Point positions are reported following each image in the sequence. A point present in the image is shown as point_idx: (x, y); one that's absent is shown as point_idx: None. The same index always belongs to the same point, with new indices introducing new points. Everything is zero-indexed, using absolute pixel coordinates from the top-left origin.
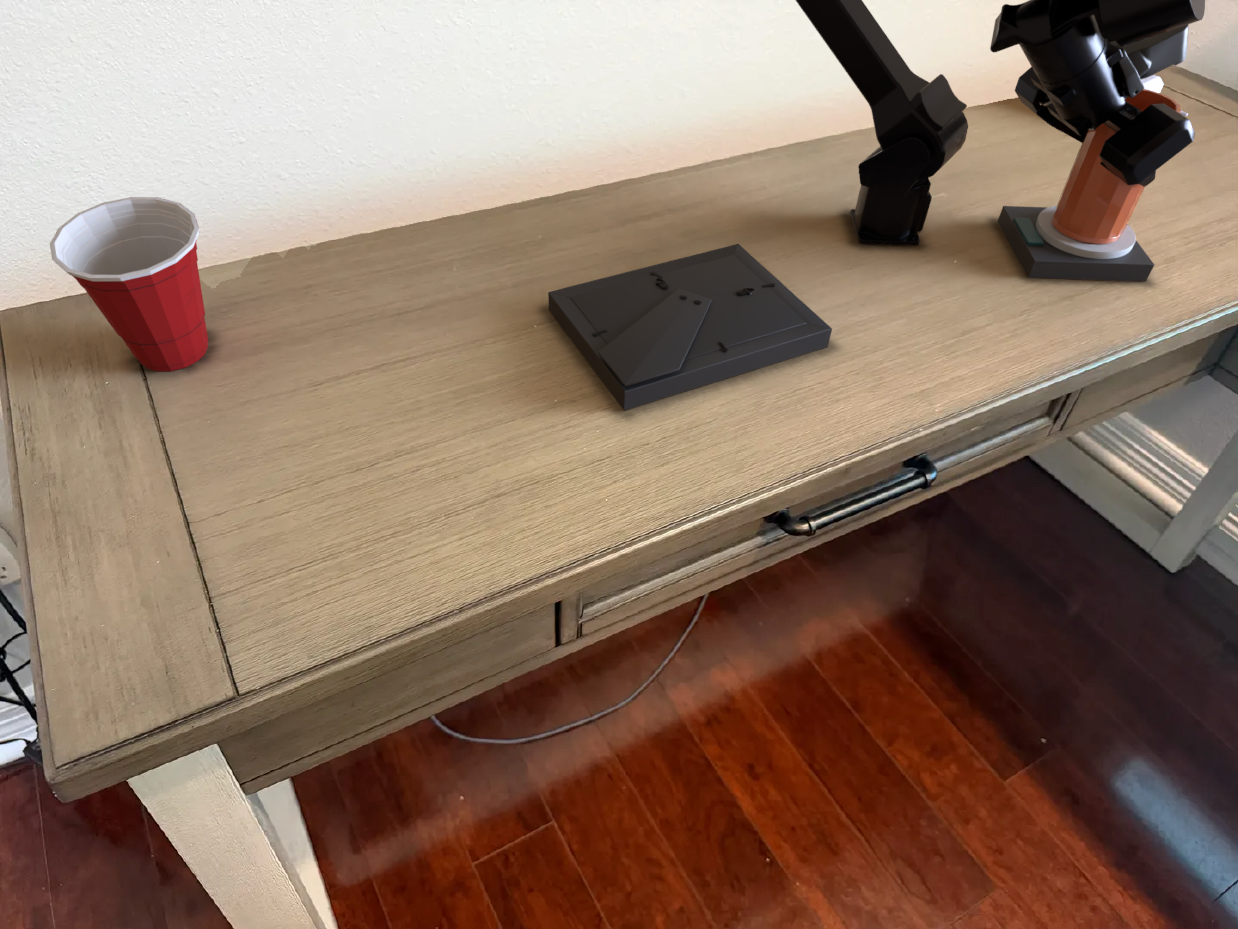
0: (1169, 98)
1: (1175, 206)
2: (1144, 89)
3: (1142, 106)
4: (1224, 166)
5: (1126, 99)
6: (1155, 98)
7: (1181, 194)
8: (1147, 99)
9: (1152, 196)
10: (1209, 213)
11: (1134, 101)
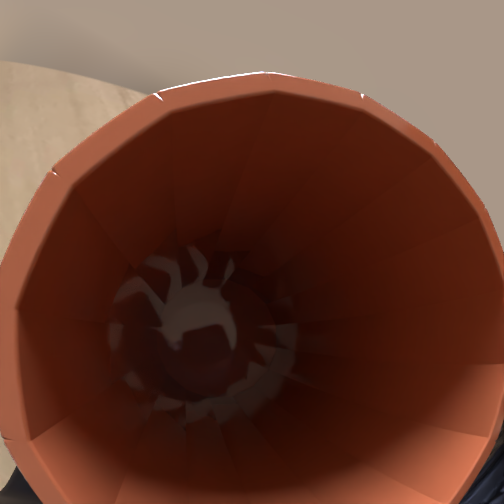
0: (249, 87)
1: (80, 130)
2: (39, 214)
3: (116, 235)
4: (27, 67)
5: (64, 350)
6: (153, 155)
7: (57, 115)
8: (107, 202)
9: (52, 150)
10: (105, 100)
11: (76, 285)
